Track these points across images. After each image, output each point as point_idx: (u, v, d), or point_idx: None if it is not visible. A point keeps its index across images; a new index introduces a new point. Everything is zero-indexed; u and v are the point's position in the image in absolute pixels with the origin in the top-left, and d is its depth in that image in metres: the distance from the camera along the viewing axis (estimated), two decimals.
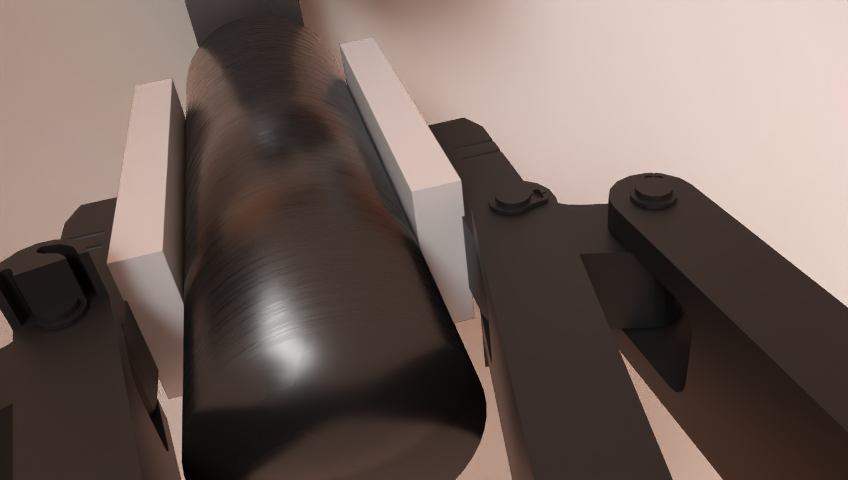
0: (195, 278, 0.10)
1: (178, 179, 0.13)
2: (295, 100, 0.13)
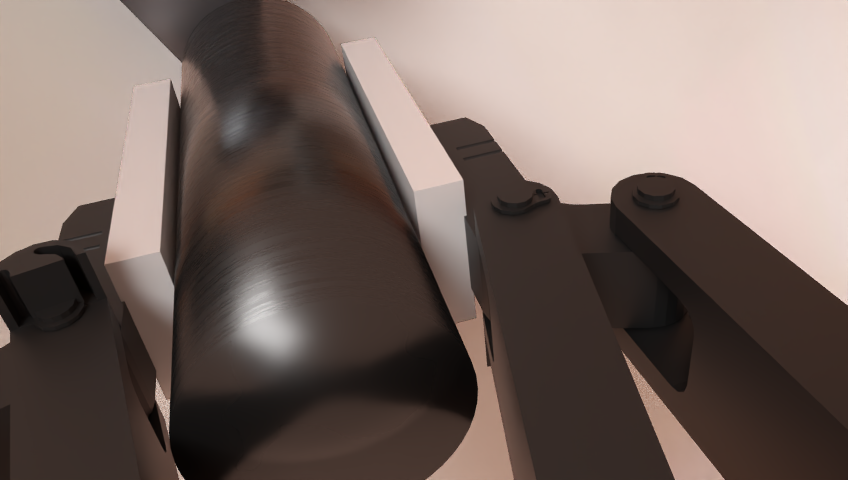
0: None
1: (176, 179, 0.13)
2: (238, 87, 0.12)
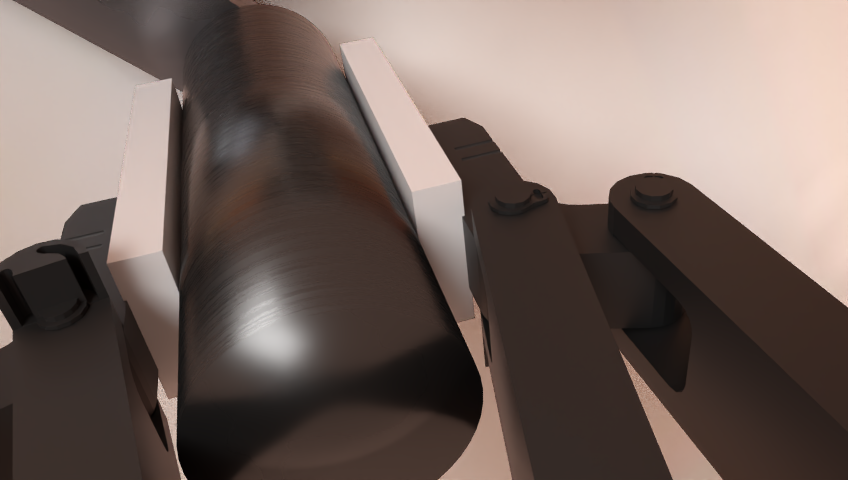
0: None
1: (178, 179, 0.13)
2: (214, 111, 0.13)
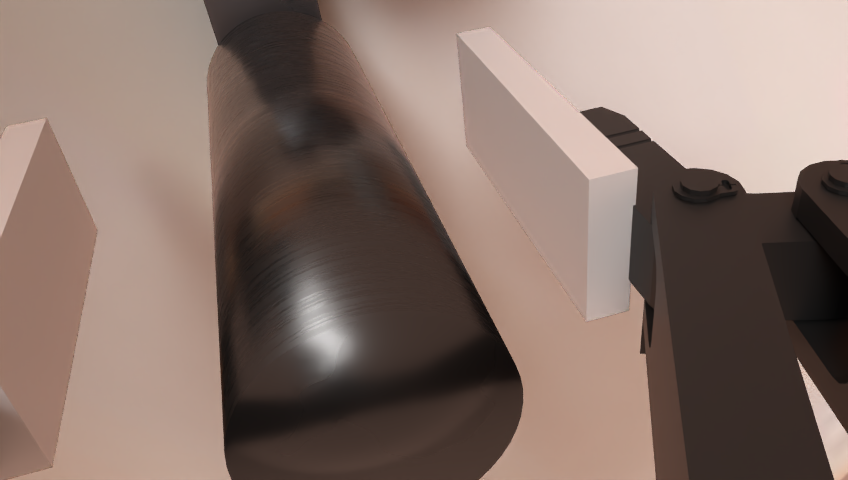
0: (229, 273, 0.10)
1: (28, 235, 0.12)
2: (318, 93, 0.13)
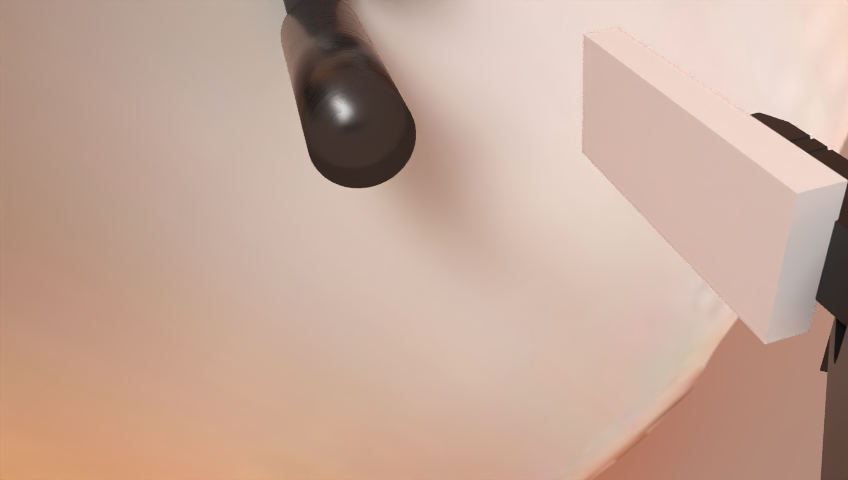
0: (304, 90, 0.25)
1: None
2: (339, 29, 0.28)
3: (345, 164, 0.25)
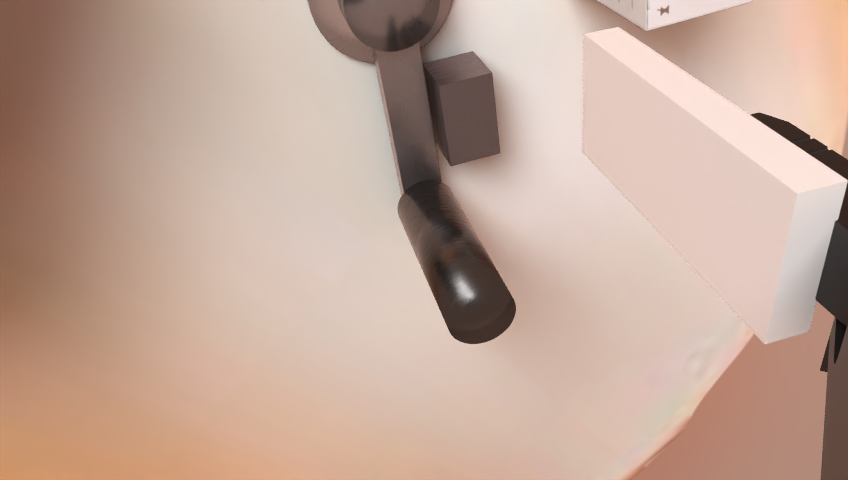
0: (439, 278, 0.38)
1: None
2: (452, 221, 0.41)
3: (469, 330, 0.37)
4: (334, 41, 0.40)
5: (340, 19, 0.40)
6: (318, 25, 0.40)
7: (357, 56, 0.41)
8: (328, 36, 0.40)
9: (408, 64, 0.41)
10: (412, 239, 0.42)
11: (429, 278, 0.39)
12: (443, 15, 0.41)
